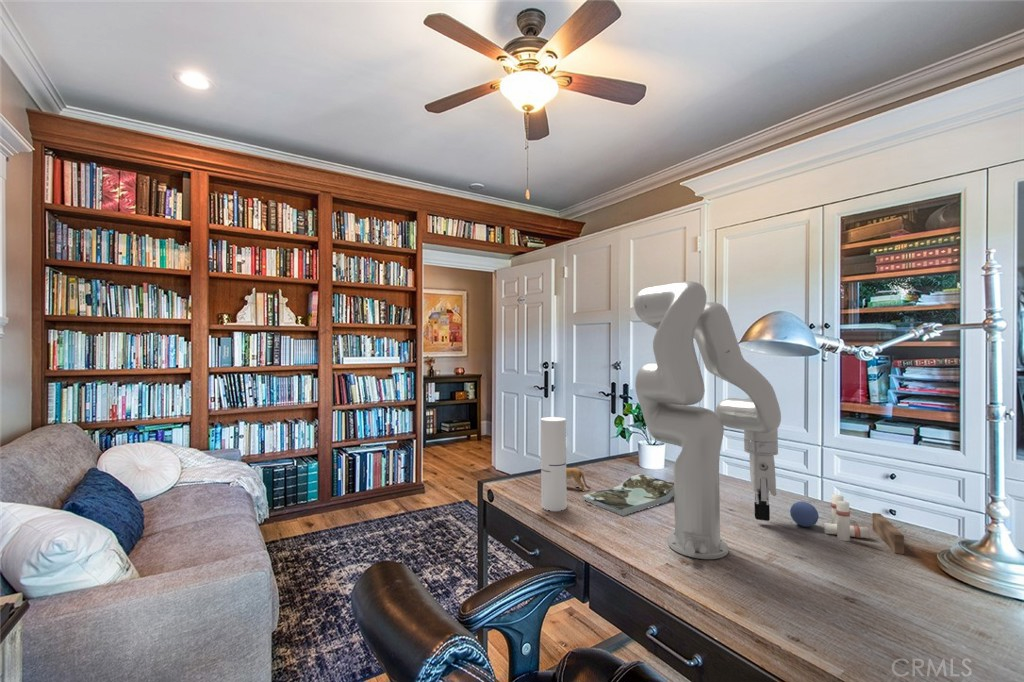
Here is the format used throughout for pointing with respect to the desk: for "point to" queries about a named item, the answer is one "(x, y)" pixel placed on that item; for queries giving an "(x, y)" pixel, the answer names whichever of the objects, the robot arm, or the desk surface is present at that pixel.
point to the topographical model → (633, 494)
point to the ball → (804, 514)
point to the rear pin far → (835, 506)
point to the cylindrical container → (553, 463)
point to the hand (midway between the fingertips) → (762, 518)
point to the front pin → (854, 530)
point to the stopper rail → (888, 533)
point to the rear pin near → (843, 521)
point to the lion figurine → (576, 476)
